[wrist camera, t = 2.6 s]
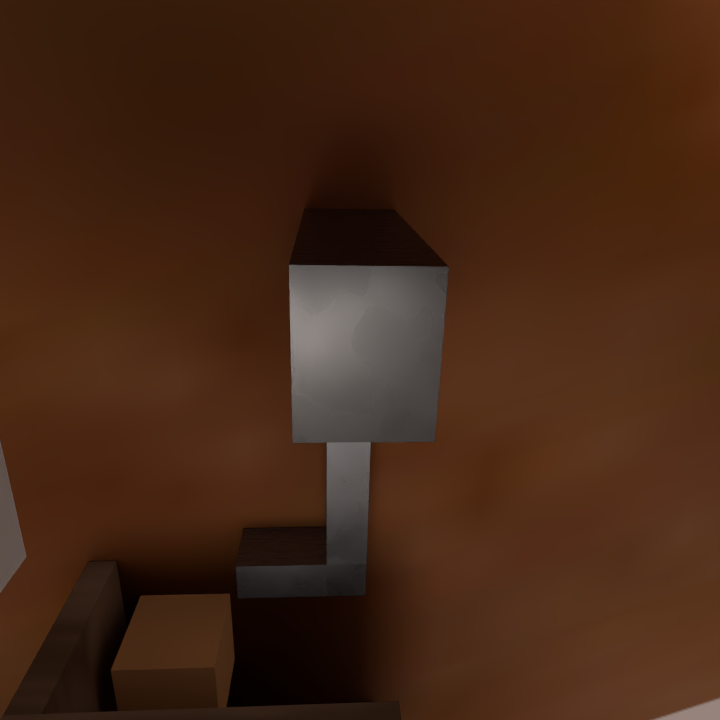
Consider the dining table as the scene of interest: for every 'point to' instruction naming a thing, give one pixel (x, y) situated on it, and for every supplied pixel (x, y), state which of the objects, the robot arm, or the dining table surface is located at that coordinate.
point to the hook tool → (351, 386)
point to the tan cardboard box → (96, 657)
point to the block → (176, 654)
